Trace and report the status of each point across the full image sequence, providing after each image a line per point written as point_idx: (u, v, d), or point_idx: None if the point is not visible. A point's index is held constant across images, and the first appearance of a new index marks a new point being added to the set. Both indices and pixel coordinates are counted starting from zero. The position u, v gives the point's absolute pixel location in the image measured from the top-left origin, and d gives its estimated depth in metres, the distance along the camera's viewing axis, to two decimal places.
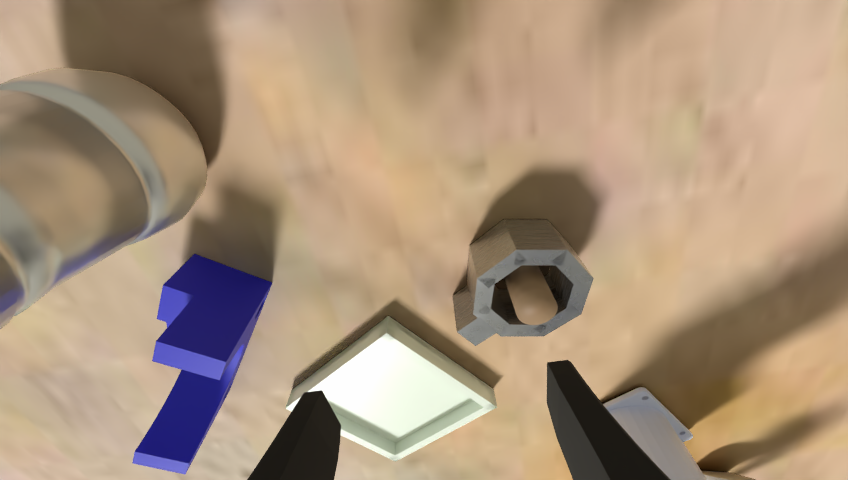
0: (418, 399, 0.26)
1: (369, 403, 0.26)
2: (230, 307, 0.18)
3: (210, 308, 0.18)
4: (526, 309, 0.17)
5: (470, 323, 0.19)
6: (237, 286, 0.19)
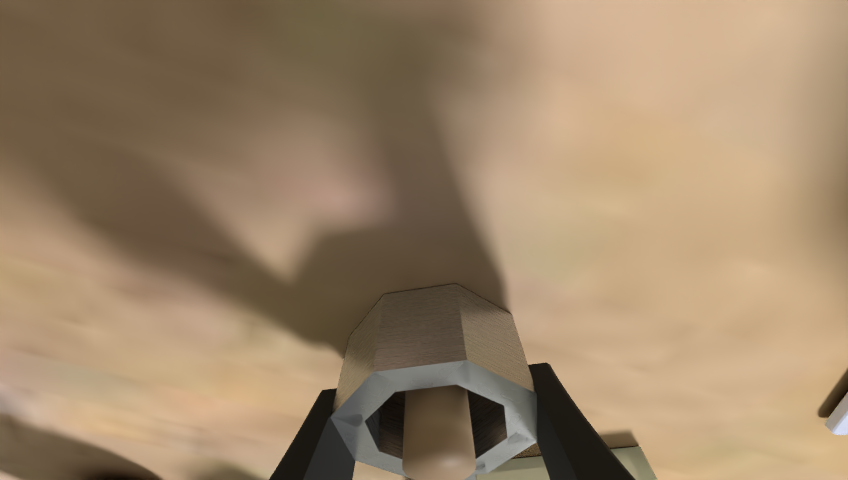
0: None
1: None
2: None
3: None
4: (426, 473, 0.09)
5: None
6: None
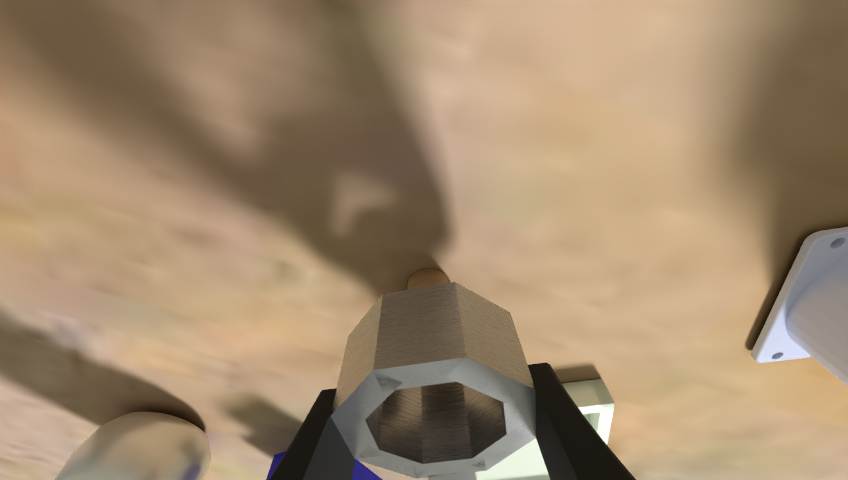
0: None
1: (504, 464, 0.23)
2: None
3: None
4: None
5: None
6: None
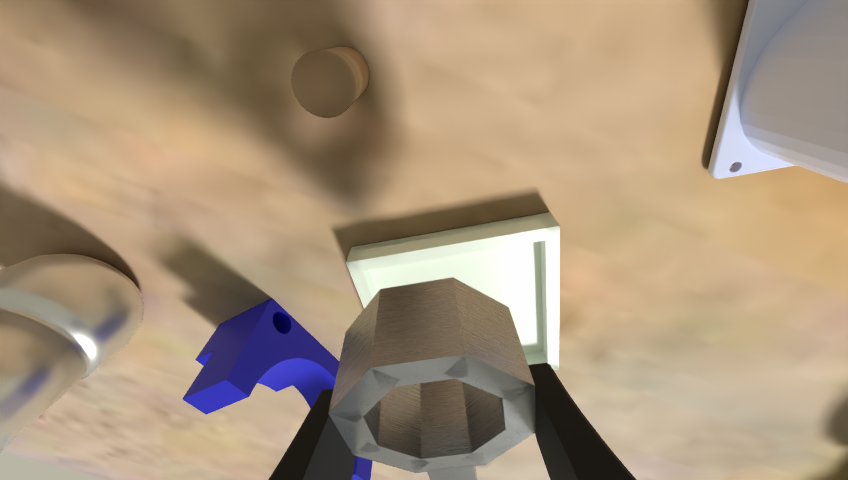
0: (489, 293, 0.20)
1: None
2: (236, 339, 0.19)
3: (223, 350, 0.19)
4: (314, 99, 0.11)
5: (430, 478, 0.12)
6: (245, 321, 0.20)
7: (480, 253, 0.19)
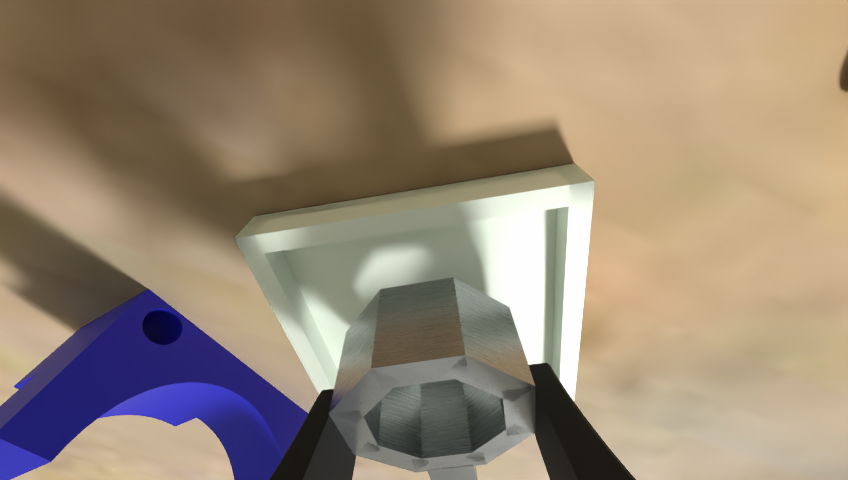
0: None
1: None
2: (69, 355, 0.12)
3: (43, 373, 0.11)
4: None
5: (431, 477, 0.12)
6: (99, 325, 0.13)
7: (460, 230, 0.12)
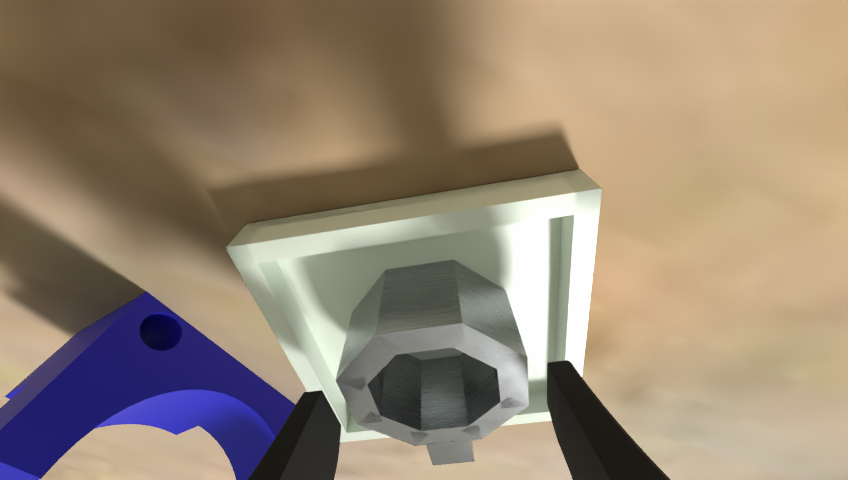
0: None
1: None
2: (62, 363, 0.11)
3: (35, 382, 0.11)
4: None
5: (429, 452, 0.13)
6: (95, 330, 0.12)
7: (461, 238, 0.11)
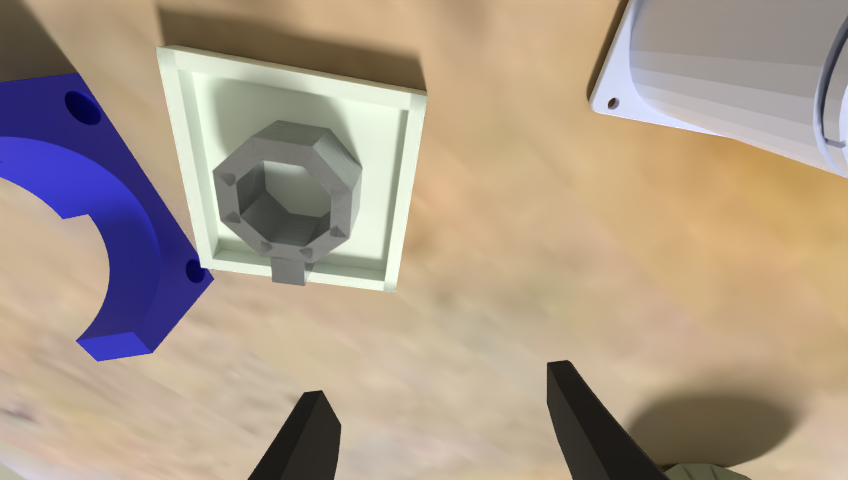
0: None
1: None
2: None
3: None
4: None
5: (271, 266, 0.17)
6: None
7: (337, 112, 0.16)
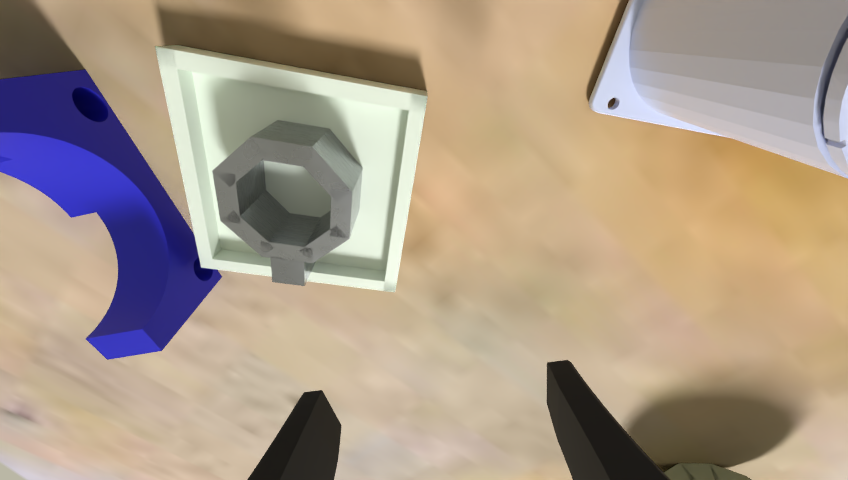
0: None
1: None
2: None
3: None
4: None
5: (271, 266, 0.17)
6: None
7: (337, 112, 0.16)
